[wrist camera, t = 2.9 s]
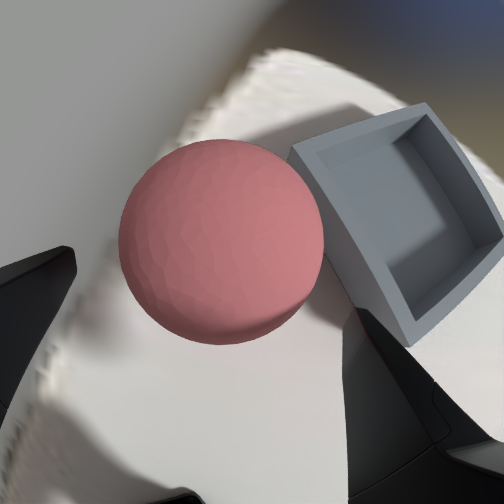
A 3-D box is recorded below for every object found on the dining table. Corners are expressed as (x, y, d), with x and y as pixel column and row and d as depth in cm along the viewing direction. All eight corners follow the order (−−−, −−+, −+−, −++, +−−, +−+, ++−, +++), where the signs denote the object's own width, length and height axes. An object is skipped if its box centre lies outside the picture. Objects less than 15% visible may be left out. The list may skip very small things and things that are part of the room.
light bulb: (271, 348, 18) (333, 377, 6) (158, 322, 18) (49, 303, 6) (292, 240, 20) (361, 124, 8) (186, 217, 20) (139, 85, 8)
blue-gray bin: (374, 345, 18) (410, 347, 14) (281, 181, 21) (291, 144, 16) (479, 257, 20) (513, 242, 16) (402, 132, 23) (425, 102, 19)
